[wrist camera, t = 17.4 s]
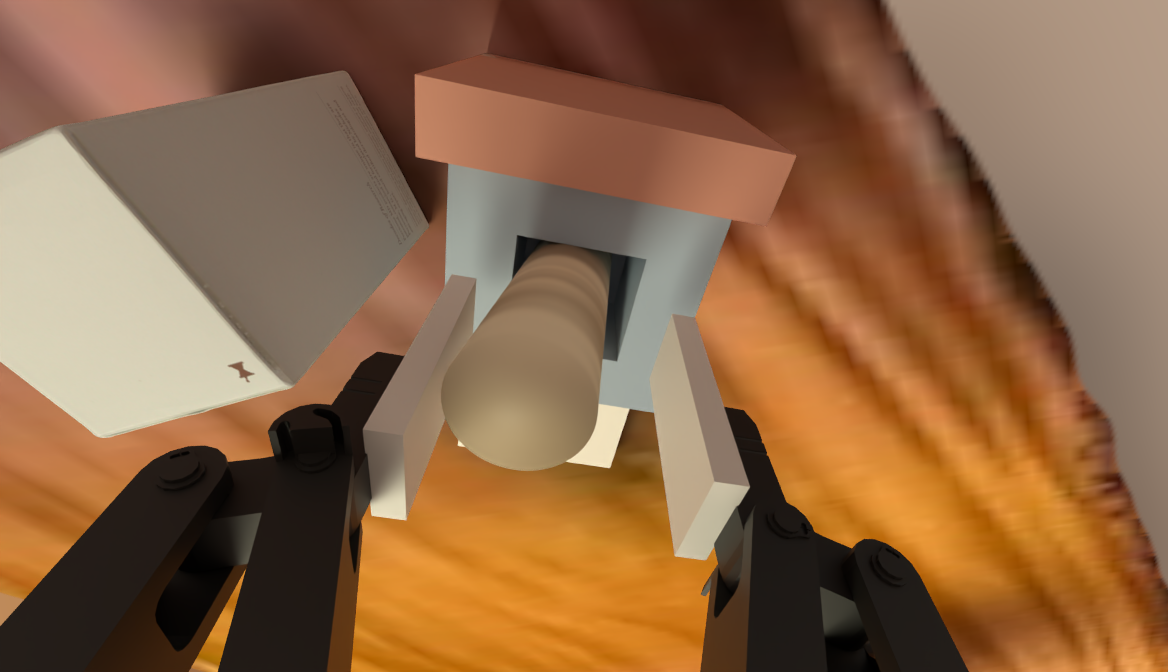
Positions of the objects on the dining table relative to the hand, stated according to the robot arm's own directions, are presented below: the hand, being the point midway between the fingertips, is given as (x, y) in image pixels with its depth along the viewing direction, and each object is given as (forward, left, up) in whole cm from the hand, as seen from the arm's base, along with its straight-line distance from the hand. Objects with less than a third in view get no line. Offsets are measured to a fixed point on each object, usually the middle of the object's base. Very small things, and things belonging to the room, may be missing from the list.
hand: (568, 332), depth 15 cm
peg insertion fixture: (0, -4, -9) cm, 10 cm away
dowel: (0, 0, -6) cm, 6 cm away
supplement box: (-12, 0, -10) cm, 16 cm away
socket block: (0, 0, -8) cm, 8 cm away
